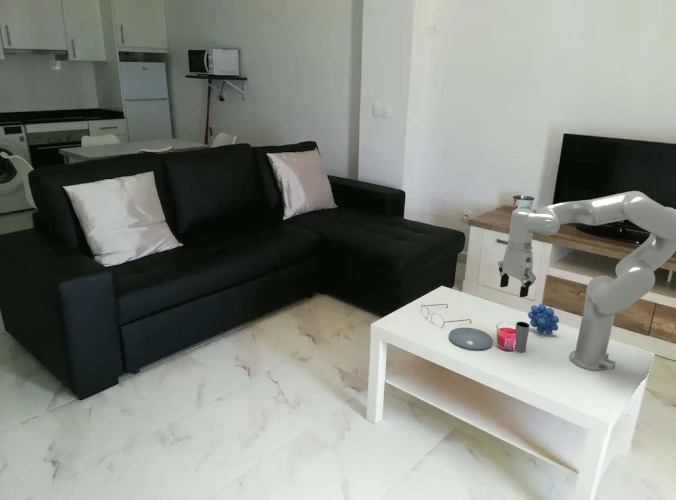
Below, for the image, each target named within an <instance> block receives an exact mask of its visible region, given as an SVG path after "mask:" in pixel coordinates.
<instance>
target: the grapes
mask: <svg viewBox="0 0 676 500" xmlns="http://www.w3.org/2000/svg"><path fill="white" fill-rule="evenodd" d="M530 310H531V311H528V313H527V316H528V318H529V319H530V321H529V325H530V326H532V328H536V331H537V332H538V334H544V333H545V334H546V335H548V336H550V335H552V334H553V332H554V331H558V330H559V325H558V323H559V321H560V319H559V316H557V315H556V314H555V310H554V309H553V308H552V307H547V306H546V304H543V303H539V304H538V306H537V305H532V306H530ZM554 314H555V315H554Z"/></svg>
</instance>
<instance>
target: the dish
mask: <svg viewBox="0 0 676 500" xmlns="http://www.w3.org/2000/svg"><path fill="white" fill-rule="evenodd" d="M448 339H449V341H450V343H451V344H452V345H454V346H456V347H458V348H460V349H462V350H467V351H473V352H481V351H486V350H489V349H491V348H492V346H493V344H494V339H493V337H492V336H491V335H490V334H489V333H487V332H486V331H483V330H481V329H477V328H473V327H465V326H464V327H456V328H454V329H452V330H450V332H449V334H448Z"/></svg>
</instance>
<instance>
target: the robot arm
mask: <svg viewBox="0 0 676 500" xmlns="http://www.w3.org/2000/svg"><path fill="white" fill-rule="evenodd" d="M624 220H625V221H626V220H628V221H629V222H631V223H632V224H634V225H635V226H637V227H639V228H641V229H642V230H645V231H646V232H649V233H650V234H649V237H648V238H646V240H644V242H643V243H642V244H640V246H638V247H637V248H635V250H633V251H632V252H630V253H629V254H628V255H626V256H625V257H624V258H622V259H621V260H619V262H618V263H617V264H616V266H615V268H614V269H615V274H616V276H617V277H616V278H612V277H611V276H608V275H597V276H595V277H593V278H591V280H590V281H589V282H588V284H587V286H586V290H585V299H584V307H583V311H582V317H581V322H580V326H579V327H580V328H579V332H578V338H577V341H576V347H575V350H572V351H570V352H569V355H568V357H569V360H570V361H571V362H572V363H573V364H575V365H576V366H577V367H580V368H583V369H585V370H589V371H598V372H599V371H605V370H607V369H608V370H609V369H610V370H611V371H614V369H615V368H616V361H615V360H611V359H610V358H609V357H610V354H609V353H607V351H608V347H609V342H610V339H611V333H612V331H613V325H614V322H615V316H616V315H618V314H620V313H621V312H623V311H625V310H626V309H628V308H629V307H630V306H632V305H633V304H634V303H637V301H639V300H640V299H641V298H642V297H644V296H645V295H646V294H648V293H649V292H650V291H651V290H652V288H654V285H655V283H656V276H655V273H654V272H655V271H656V270H657V269H659V268H660V267H661V266H662V265H663V264H665V263H666V262H667V261H668V260H669V259H670V258H671V257H672V256H673V255H674V254H675V252H676V209H675V208H673V207H670V206H664V205H661V203H658V202H657V201H655V200H653V199H651V198H650V197H649V196H647V195H646V194H645V193H644V192H641V191H638V190H632V191H626V192H621V193H616V194H612V195H606V196H602V197H598V198H592V199H585V200H583V199H582V200H577V201H576V200H575V201H573V200H572V201H565V202H559V203H556V204H550V205H546V206H543V207H541V208H539V209H538V210H537V211H536V212H535V211H534V210H532V209H528V208H516V209H513V211H512V212H511V218H510V223H509V224H510V225H509V232H508V233H509V234H508V242H507V247H506V249H505V252H504V254H503V255H504V256H503V260H500V261H498V262H497V266H498V271H499V273H500V274H499V276H500V283H499V287H500V288H506V287H508V286H509V279H510V277H512V278H515V279H517V280H519V281H520V283H521V286H520V290H519V297H520V298H525V297H528V296H529V289H530V287H532V285H533V284H534V282H535V281H536V279H537V277H536V275H535V274H534V273H533V266H534V260H533V259H534V258H533V256H534V255H533V250H532V249H533V245H532V242H533V235H534V234H537V235H542V236H549V237H550V236H553V235H555V234H556V233H558V231H559V230H560V227H561V225H566V224H583V225H587V226H600V225H606V224H609V223H611V224H612V223H615V222H620V221H624Z"/></svg>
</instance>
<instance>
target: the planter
mask: <svg viewBox="0 0 676 500" xmlns="http://www.w3.org/2000/svg"><path fill="white" fill-rule="evenodd" d="M530 326H531V324H530V323H527V322H525V321H517V322H516V323H515V329H514V334H516V345H515V351H514V352H516V353H518V354H519V353H520V354H522V353H525V352H526V349H527V343H528V337H529V331H530Z"/></svg>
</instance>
